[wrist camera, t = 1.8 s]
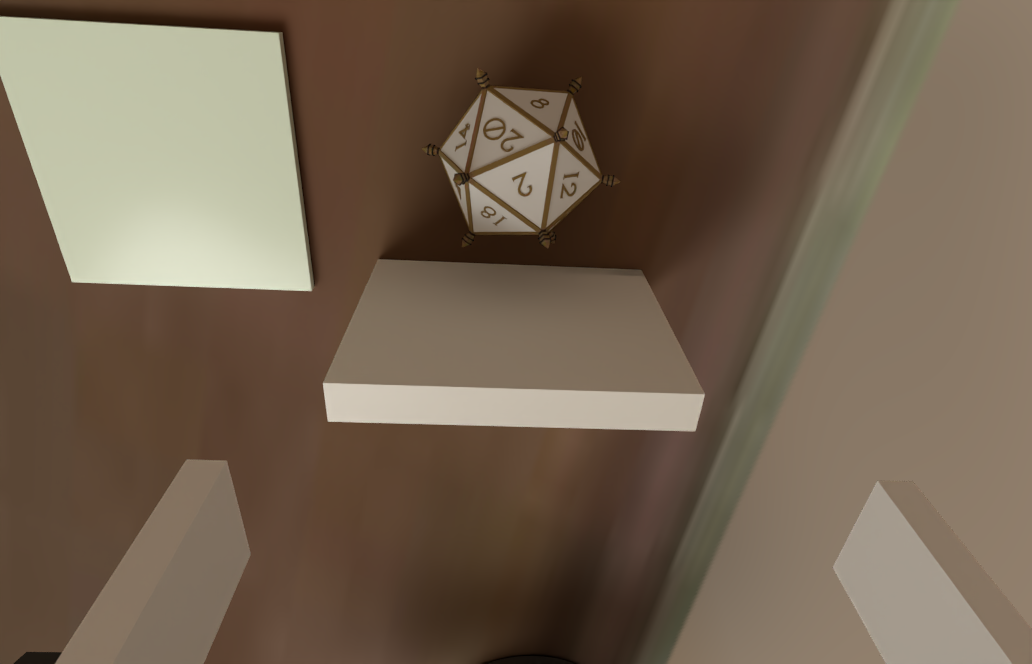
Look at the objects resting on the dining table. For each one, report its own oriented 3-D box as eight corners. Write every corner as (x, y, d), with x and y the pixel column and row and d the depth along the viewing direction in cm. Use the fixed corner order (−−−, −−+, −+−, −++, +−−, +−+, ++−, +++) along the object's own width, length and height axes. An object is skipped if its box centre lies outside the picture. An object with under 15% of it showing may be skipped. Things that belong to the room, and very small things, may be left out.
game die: (484, 142, 36) (355, 163, 29) (573, 28, 31) (441, 18, 23) (570, 260, 35) (461, 314, 28) (678, 166, 30) (577, 201, 22)
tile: (314, 286, 37) (311, 291, 36) (78, 277, 36) (72, 282, 35) (282, 32, 30) (278, 32, 29) (-11, 15, 29) (-21, 15, 28)
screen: (626, 352, 40) (678, 497, 28) (383, 344, 39) (336, 490, 27) (641, 269, 37) (705, 394, 25) (378, 259, 36) (322, 383, 25)
